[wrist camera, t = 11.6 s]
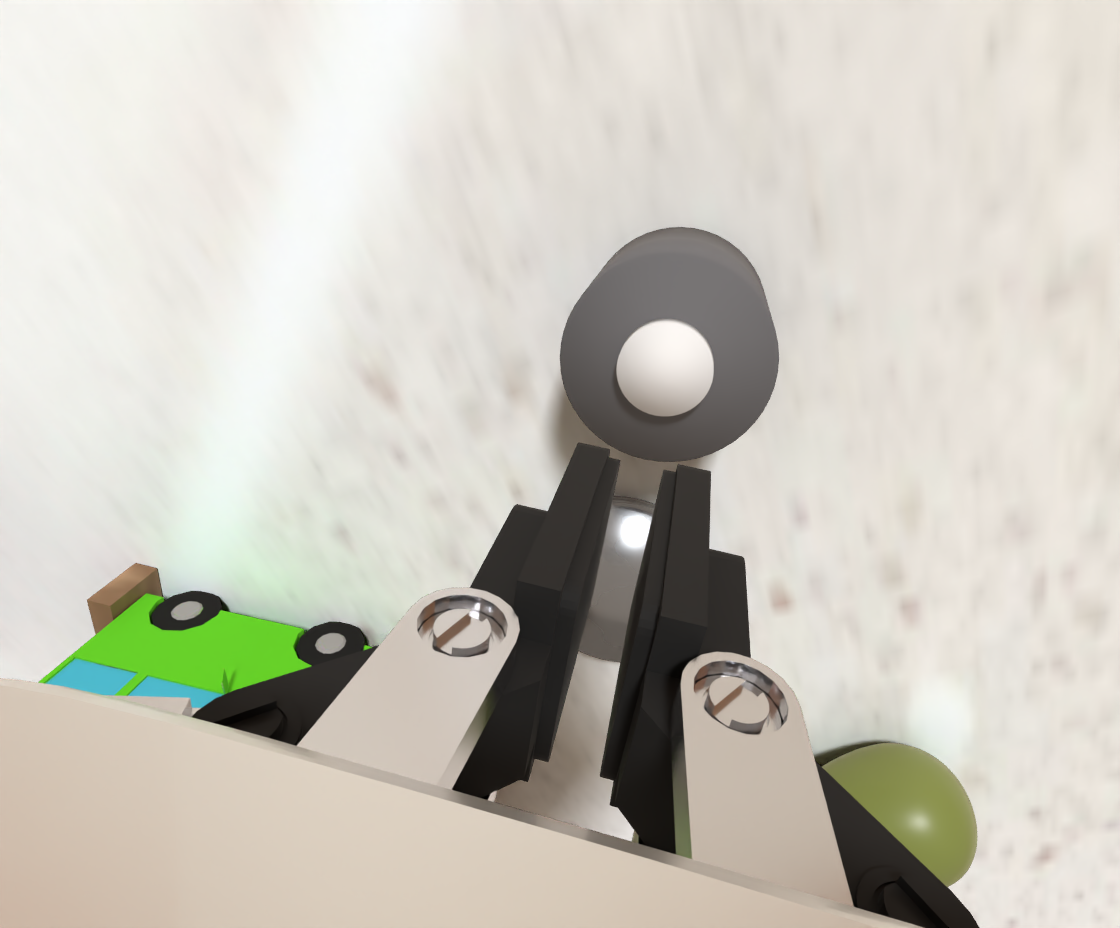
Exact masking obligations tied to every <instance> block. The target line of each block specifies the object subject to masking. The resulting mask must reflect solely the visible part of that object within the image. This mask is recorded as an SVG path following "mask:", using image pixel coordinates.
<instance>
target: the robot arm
mask: <svg viewBox="0 0 1120 928" xmlns="http://www.w3.org/2000/svg"><path fill="white" fill-rule="evenodd" d="M609 453H610V449H606V448H601V447H597V446H592V445H587V444H583V443H578V444H577V447H576V449H575V451H574V453H573V456H572V458H571V460H570V462H569V465H568V467H567V469H566V471H565V474H564V476H563V478H562V480H561V483H560V485H559V487H558V489H557V492H556V494H555V496H554V498H553V501H552V503H551V505H550V507H549V510H548V511H544V510H540V509H535V508H531V507H527V506H522V505H518V504H517V505H515V506H514V507H513V509H512V510H511V512H510V514H509V516H508V518H507V520H506V521H505V523H504V525H503V527H502V529H501V531H500V533H499V534H498V536H497V538H496V540H495V542H494V544H493V546H492V547H491V549H490V551H489V553H488V555H487V557H486V559H485V560H484V562H483V564H482V566H481V568H480V570H479V572H478V573H477V575H476V577H475V579H474V581H473V583H472V585H471V586H470V588H448V589H443V590H438V591H435V592H433V593H430V594H428V595H426V596H424V597H422V598H421V599H420V600H418V601H417V602H416V603H415V604H414V605H413V606H412V607H411V608H410V609H409V610H408V611H407V612H406V614H405V615H404V616H403V617H402V619H401V620H400V621H399V622H398V623H397V625H396V626H395V627H394V628H393V630H392V631H391V632H390V633H389V634H388V636H387V637H386V638H385V639H384V640H383V642H382V643H381V644H380V645H379V646H375V647H372V648H369V649H366V650H363V651H359V652H356V653H353V654H350V655H346V656H343V657H340V658H337V659H333V660H330V661H327V662H324V663H321V664H317V665H314V666H311V667H308V668H304V669H301V670H298V671H295V672H291V673H288V674H285V675H282V676H279V677H275V678H272V679H269V680H266V681H262V682H259V683H256V684H253V685H249V686H246V687H243V688H240V689H236V690H234V691H231V692H229V693H227V694H224V695H222V696H220V697H217V698H215V699H213V700H212V701H211V702H209V703H208V704H206V705H205V706H203V707H202V708H192V706H191V700H190V698H180V697H147V696H114V695H101V694H96V693H91V692H87V691H82V690H78V689H73V688H69V687H64V686H58V685H51V684H44V683H37V682H30V681H23V680H16V679H4V678H0V928H979V926H978V925H977V923H976V921H975V920H974V918H973V916H972V915H971V913H970V912H969V911H968V910H967V908H966V907H965V906H964V905H963V904H962V903H961V902H960V900H959V899H958V898H957V897H956V896H955V895H954V894H953V892H952V891H951V890H950V889H949V888H947V887H946V886H945V885H944V884H943V883H942V882H941V881H940V880H939V879H938V878H937V877H936V876H935V875H934V874H933V873H932V872H931V871H930V870H929V869H928V868H927V867H926V866H925V865H924V864H922V863H921V862H920V861H919V860H918V859H917V858H916V857H915V856H914V855H913V854H912V853H911V852H910V851H909V850H908V849H907V848H906V847H905V846H904V845H903V844H902V843H901V842H900V841H898V840H897V839H896V838H895V837H894V836H893V835H892V834H891V833H890V832H889V831H888V830H887V829H886V828H885V827H884V826H883V825H882V824H881V823H880V822H879V821H878V820H877V819H876V818H875V817H873V816H872V815H871V814H870V813H869V812H868V811H867V810H866V809H865V808H864V807H863V806H862V805H861V804H860V803H859V802H858V801H857V800H856V799H855V798H854V797H853V796H852V795H851V794H850V793H848V792H847V791H846V790H845V789H844V788H843V787H842V786H841V785H840V784H839V783H838V782H837V781H836V780H835V779H834V778H833V777H832V776H831V775H830V774H829V773H828V772H827V771H826V770H824V769H823V768H822V767H821V766H820V765H819V764H818V763H817V762H816V761H815V759H814V755H813V751H812V748H811V744H810V740H809V736H808V733H807V729H806V725H805V721H804V718H803V714H802V710H801V706H800V704H799V702H798V700H797V698H796V695H795V693H794V691H793V690H792V689H791V688H790V687H789V685H788V684H787V683H786V682H785V680H784V679H783V678H782V677H780V676H779V675H778V674H777V673H775V672H774V671H773V670H771V669H770V668H769V667H768V666H766V665H764V664H762V663H760V662H758V661H756V660H754V659H752V658H751V655H750V638H749V621H748V605H747V588H746V571H745V560H744V558H743V557H742V556H738V555H733V554H729V553H725V552H721V551H716V550H712V549H709V532H710V489H711V471H707V470H702V469H697V468H693V467H688V466H684V465H679V464H678V466H677V469H676V472H671V471H667V470H664V471H663V475H662V479H661V483H660V487H659V491H658V495H657V499H656V504H655V508H654V512H653V516H652V520H651V524H650V529H649V533H648V537H647V541H646V545H645V549H644V554H643V558H642V562H641V566H640V570H639V574H638V579H637V583H636V587H635V591H634V595H633V600H632V604H631V609H630V614H629V619H628V624H627V630H626V635H625V641H624V646H623V651H622V657H621V662H620V668H619V673H618V679H617V684H616V690H615V695H614V701H613V706H612V711H611V717H610V722H609V728H608V733H607V739H606V744H605V750H604V755H603V760H602V766H601V772H600V777H603V778H607V779H610V780H614V782H613V788H612V794H611V800H610V805H611V806H614V807H618V808H619V810H620V811H621V813H622V814H623V815H624V817H625V818H626V819H627V821H628V822H629V823H630V825H631V826H632V828H633V829H634V833H633V837H632V842H631V841H627V840H624V839H620V838H617V837H614V836H610V835H607V834H603V833H600V832H596V831H593V830H589V829H586V828H582V827H579V826H576V825H572V824H569V823H565V822H562V821H558V820H555V819H551V818H548V817H544V816H541V815H537V814H534V813H530V812H527V811H523V810H520V809H517V808H513V807H510V806H506V805H503V804H499V803H496V802H494V801H495V798H496V793H497V790H499V789H501V788H503V787H505V786H507V785H510V784H512V783H514V782H516V781H518V780H522V781H526V782H528V780H529V776H530V773H531V770H532V766H533V763H534V759H539V760H542V761H546V762H548V761H549V758H550V755H551V751H552V747H553V744H554V740H555V736H556V732H557V729H558V725H559V721H560V717H561V714H562V710H563V706H564V702H565V699H566V695H567V691H568V688H569V684H570V680H571V676H572V673H573V669H574V665H575V661H576V658H577V654H578V650H579V646H580V643H581V639H582V635H583V632H584V628H585V624H586V620H587V617H588V613H589V609H590V605H591V601H592V597H593V593H594V588H595V583H596V578H597V573H598V569H599V564H600V559H601V554H602V549H603V544H604V539H605V534H606V529H607V524H608V520H609V515H610V510H611V505H612V500H613V495H614V490H615V485H616V480H617V475H618V471H619V465H620V460H617V459H612V458H609Z"/></svg>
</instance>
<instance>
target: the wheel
mask: <svg viewBox="0 0 1120 928" xmlns="http://www.w3.org/2000/svg"><path fill="white" fill-rule="evenodd" d="M778 363H779V351H778V341H777V336H776V331H775V328H774V324H773V321H772V317H771V314H770V310H769V307H768V303H767V300H766V296H765V293H764V290H763V287H762V284H761V281H760V278H759V276H758V275H757V273H756V271H755V269H754V267H753V266H752V264H751V263H750V262H749V260H748V259H747V258H746V257H745V256H744V255H743V254H742V252H741V251H740V250H739V249H737V248H736V247H735V246H733V245H732V244H731V243H730V242H728V241H726V240H725V239H723V238H721V237H719V236H717V235H715V234H712V233H710V232H707V231H703V230H699V229H695V228H685V227H676V228H666V229H660V230H656V231H653V232H650V233H646V234H644V235H642V236H640V237H638V238H636V239H634V240H632V241H631V242H629V243H628V244H626V245H625V246H624V247H622V248H621V249H620V250H619V251H618V252H616V253H615V255H614V256H613V257H612V258H611V259H610V260H609V261H608V262H607V264H606V265H605V266H604V267H603V269H602V270H601V271H600V273H599V274H598V275H597V276H596V278H595V279H594V280H593V282H592V283H591V284H590V286H589V287H588V288H587V289H586V291H585V292H584V293H583V295H582V296H581V297H580V299H579V300H578V302H577V303H576V305H575V306H574V308H573V310H572V312H571V314H570V316H569V318H568V320H567V323H566V326H565V329H564V332H563V337H562V342H561V350H560V366H561V374H562V380H563V384H564V387H565V390H566V393H567V396H568V398H569V400H570V402H571V404H572V406H573V408H574V410H575V411H576V413H577V414H578V416H579V417H580V419H581V420H582V421H583V422H584V423H585V425H586V426H587V427H588V428H589V429H590V430H591V431H592V432H593V433H594V434H595V435H596V436H598V437H599V438H600V439H602V440H603V441H604V442H606V443H607V444H609V445H610V446H612V447H614V448H616V449H618V450H619V451H622V452H624V453H627V454H629V455H631V456H635V457H638V458H642V459H646V460H653V461H662V462H675V461H686V460H691V459H696V458H700V457H703V456H706V455H709V454H712V453H714V452H716V451H718V450H720V449H722V448H724V447H726V446H727V445H729V444H731V443H732V442H734V441H735V440H737V439H738V438H739V437H740V436H741V435H743V434H744V433H745V432H746V431H747V430H748V429H749V428H750V427H751V426H752V425H753V424H754V423H755V421H756V420H757V419H758V417H759V416H760V415H761V413H762V412H763V410H764V408H765V407H766V405H767V403H768V401H769V399H770V397H771V394H772V392H773V389H774V386H775V382H776V378H777V373H778Z"/></svg>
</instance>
